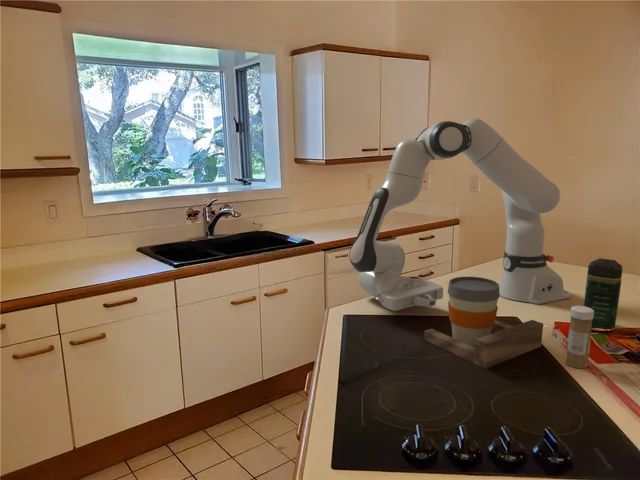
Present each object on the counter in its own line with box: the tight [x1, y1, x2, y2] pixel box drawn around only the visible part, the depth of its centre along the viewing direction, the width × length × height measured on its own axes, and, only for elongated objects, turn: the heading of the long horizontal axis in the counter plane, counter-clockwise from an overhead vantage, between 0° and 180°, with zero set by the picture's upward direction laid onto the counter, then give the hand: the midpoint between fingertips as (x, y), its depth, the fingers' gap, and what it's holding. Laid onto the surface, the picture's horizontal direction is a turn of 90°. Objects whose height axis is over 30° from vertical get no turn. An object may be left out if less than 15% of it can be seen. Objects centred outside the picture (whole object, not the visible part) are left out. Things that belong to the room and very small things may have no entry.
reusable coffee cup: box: [447, 276, 500, 347], centre depth 120 cm, size 13×13×15 cm
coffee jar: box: [583, 257, 623, 329], centre depth 127 cm, size 10×8×19 cm
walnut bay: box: [423, 319, 544, 370], centre depth 119 cm, size 19×21×6 cm
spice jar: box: [565, 305, 594, 369], centre depth 106 cm, size 5×5×14 cm
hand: (432, 303), depth 132 cm, fingers closed
